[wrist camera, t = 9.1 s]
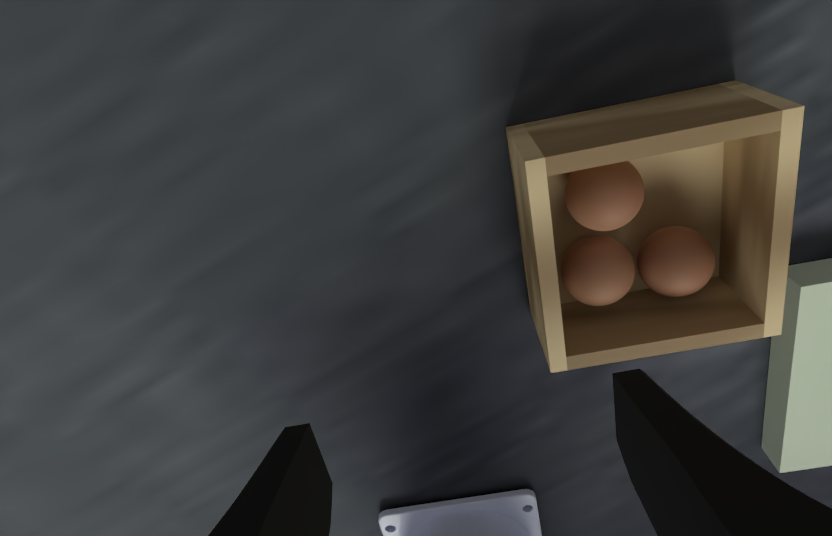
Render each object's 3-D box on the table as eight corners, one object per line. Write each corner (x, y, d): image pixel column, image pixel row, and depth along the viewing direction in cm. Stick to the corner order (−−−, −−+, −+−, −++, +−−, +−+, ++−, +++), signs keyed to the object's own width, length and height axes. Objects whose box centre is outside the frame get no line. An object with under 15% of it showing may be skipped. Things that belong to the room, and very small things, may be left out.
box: (726, 279, 24) (781, 334, 20) (530, 313, 25) (550, 373, 21) (735, 80, 20) (804, 106, 17) (505, 127, 21) (524, 161, 17)
